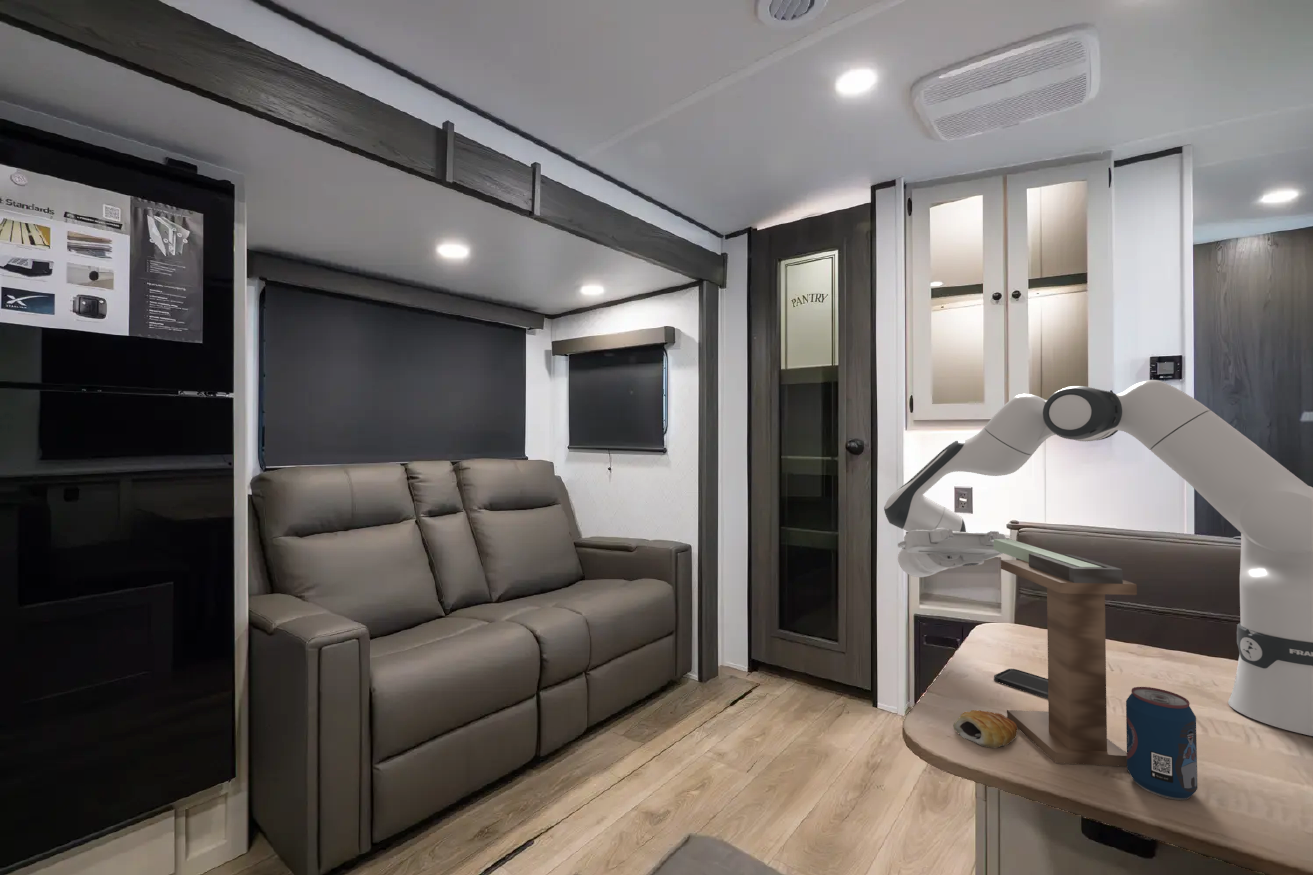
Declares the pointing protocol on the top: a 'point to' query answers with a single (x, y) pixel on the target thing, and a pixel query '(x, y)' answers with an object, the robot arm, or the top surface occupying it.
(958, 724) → the pastry
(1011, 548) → the slat
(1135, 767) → the soda can
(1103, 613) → the stand
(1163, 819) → the top surface
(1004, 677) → the phone
